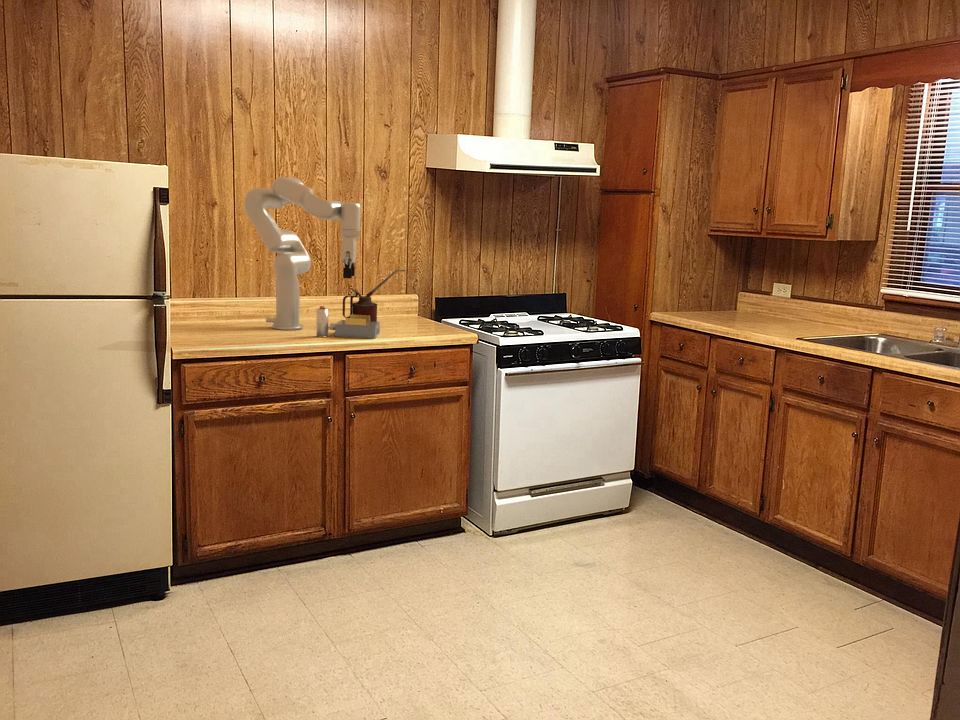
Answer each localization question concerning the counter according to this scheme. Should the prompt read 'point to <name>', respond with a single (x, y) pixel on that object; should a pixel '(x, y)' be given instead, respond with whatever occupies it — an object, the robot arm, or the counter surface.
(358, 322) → the gearbox
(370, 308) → the oil can
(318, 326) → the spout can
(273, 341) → the counter surface
